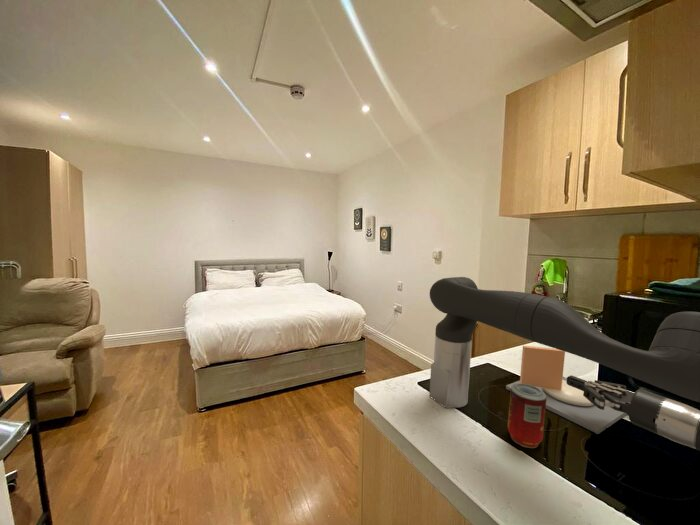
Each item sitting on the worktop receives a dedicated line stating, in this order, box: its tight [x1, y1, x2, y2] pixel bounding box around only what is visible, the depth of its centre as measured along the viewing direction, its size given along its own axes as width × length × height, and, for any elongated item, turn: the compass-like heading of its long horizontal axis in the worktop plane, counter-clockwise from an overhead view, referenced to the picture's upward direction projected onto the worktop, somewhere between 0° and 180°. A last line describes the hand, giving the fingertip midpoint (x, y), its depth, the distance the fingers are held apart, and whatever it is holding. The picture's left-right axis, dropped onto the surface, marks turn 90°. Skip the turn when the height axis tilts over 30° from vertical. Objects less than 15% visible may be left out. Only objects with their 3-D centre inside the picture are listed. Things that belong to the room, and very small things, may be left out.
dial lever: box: [519, 345, 594, 406], centre depth 81 cm, size 18×12×12 cm, turn 77°
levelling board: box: [505, 376, 628, 435], centre depth 81 cm, size 24×22×3 cm
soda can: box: [507, 383, 547, 449], centre depth 63 cm, size 7×7×12 cm
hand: (568, 379), depth 74 cm, fingers closed
